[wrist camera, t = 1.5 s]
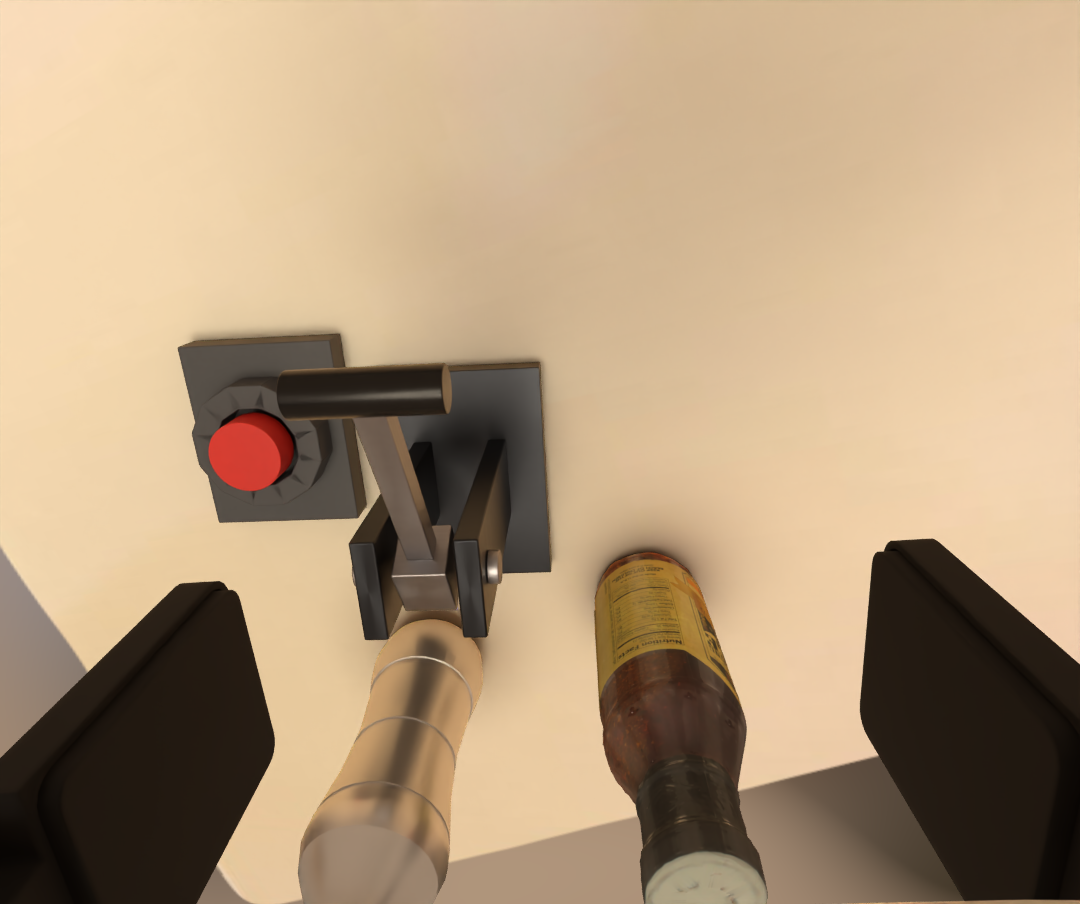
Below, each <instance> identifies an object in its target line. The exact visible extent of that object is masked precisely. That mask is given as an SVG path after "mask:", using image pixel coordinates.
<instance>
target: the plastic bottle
mask: <svg viewBox="0 0 1080 904" xmlns="http://www.w3.org/2000/svg"><path fill="white" fill-rule="evenodd" d="M482 685H483V672H482V659H481V655H480V651H479V649H478V647H477V645H476V643H475V642H474V641H473V640H472V638H465V637H464V636H463V631H462V629H461V628H459V627H457V626H456V625H454V624H452V623H449V622H447V621H443V620H437V619H427V620H420V621H415V622H412V623H410V624H407V625H405V626H403V627H402V628H400V629H399V630H398V631H397V632H395V633H394V634H393V635H392V637H391V638H390V639H389V641H388V642H387V643H386V645H385V646H384V647H383V649H382V650H381V652H380V653H379V655H378V657H377V660H376V663H375V667H374V671H373V676H372V681H371V689H370V697H369V701H368V704H367V708H366V711H365V715H364V718H363V722H362V725H361V729H360V731H359V734H358V736H357V738H356V740H355V743H354V745H353V746H352V748H351V750H350V753H349V755H348V757H347V759H346V761H345V763H344V765H343V768H342V769H341V771H340V773H339V774H338V776H337V778H336V779H335V781H334V782H333V784H332V786H331V787H330V789H329V791H328V792H327V794H326V796H325V797H324V799H323V801H322V802H321V804H320V805H319V807H318V809H317V811H316V812H315V814H314V815H313V817H312V819H311V821H310V823H309V825H308V827H307V829H306V831H305V833H304V836H303V838H302V841H301V847H300V857H299V866H298V877H299V883H300V888H301V893H302V898H303V903H304V904H433V902H434V900H435V898H436V896H437V894H438V893H439V891H440V889H441V887H442V885H443V883H444V881H445V878H446V874H447V869H448V859H449V851H450V848H449V845H450V819H451V795H452V788H453V781H454V774H455V772H454V771H455V766H456V760H457V754H458V751H459V748H460V745H461V742H462V738H463V735H464V732H465V729H466V726H467V722H468V721H469V719H470V717H471V715H472V713H473V711H474V709H475V706H476V704H477V701H478V698H479V696H480V693H481V689H482Z"/></svg>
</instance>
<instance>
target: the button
mask: <svg viewBox="0 0 1080 904" xmlns="http://www.w3.org/2000/svg"><path fill="white" fill-rule="evenodd" d="M293 455H294V446H293V441H292V438H291V436H290V434H289V432H288V431H287V429H286V428H285V427H284V426H283V425H282V424H281V423H280V422H279V421H277V420H276V419H275V418H273V417H271V416H268V415H266V414H262V413H253V412H252V413H246V414H242V415H240V416H238V417H236V418H235V419H233V420H232V421H230V422H229V423H227V424H226V425H224V426H222V427H221V428H220V429H218V430H217V431H216V432H215V433H214V435H213V436H212V438H211V441H210V444H209V459H210V463H211V465H212V467H213V469H214V471H215V472H216V474H217V475H218V476H219V477H220V478H221V479H222V480H223V481H224V482H226V483H227V484H229V485H230V486H232V487H234V488H237V489H240V490H245V491H257V490H261V489H264V488H266V487H268V486H269V485H271V484H272V483H273V482H274V481H275V480H276V479H277V478H278V477H279V476H280V475H281V474H282V473H284V472H285V471H286V470H287V469H288V467H289V466H290V464H291V462H292V459H293Z"/></svg>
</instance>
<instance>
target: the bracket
mask: <svg viewBox="0 0 1080 904" xmlns="http://www.w3.org/2000/svg"><path fill="white" fill-rule="evenodd" d="M448 369H449V372H450V377H451V386H452V403H451V409H450V412H449V414H447V415H422V416H398V420H399V423H400V427H401V430H402V433H403V436H404V439H405V442H406V445H407V449H408V452H409V455H410V458H411V461H412V464H413V468H414V471H415V474H416V477H417V480H418V483H419V487H420V490H421V493H422V496H423V499H424V502H425V505H426V509H427V512H428V515H429V518H430V521H431V524H432V526H442V525H451V526H452V529H453V532H454V539H453V550H454V559H455V568H456V577H457V586H458V595H459V604H460V613H461V622H462V631H463V636H464V637H465V638H477V637H487V636H488V631H489V626H490V621H491V616H492V611H493V605H494V600H495V595H496V590H497V585H498V584H500V583H501V581H502V573H532V572H551V544H550V527H549V509H548V491H547V473H546V456H545V438H544V420H543V402H542V385H541V367H540V362H534V363H511V364H489V365H467V366H448ZM397 539H398V536H397V533H396V530H395V528H394V525H393V523H392V520H391V518H390V515H389V512H388V510H387V507H386V505H385V502H384V499H383V497H382V494H380V496H379V498H378V499H377V501H376V502H375V504H374V505H373V507H372V508H371V510H370V512H369V513H368V515H367V516H366V518H365V519H364V521H363V522H362V524H361V525H360V527H359V529H358V530H357V532H356V533H355V535H354V536H353V538H352V539H351V541H350V543H349V548H350V554H351V560H352V577H353V582H354V585H355V586H356V590H357V595H358V601H359V607H360V613H361V619H362V625H363V631H364V637H365V640H387V639H389V637H390V634H391V632H392V630H393V627H394V625H395V622H396V620H397V618H398V615H399V613H400V610H401V608H402V606H403V603H402V601H401V599H400V596H399V594H398V592H397V589H396V587H395V585H394V582H393V580H392V578H391V572H392V566H393V561H394V555H395V550H396V544H397Z"/></svg>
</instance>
